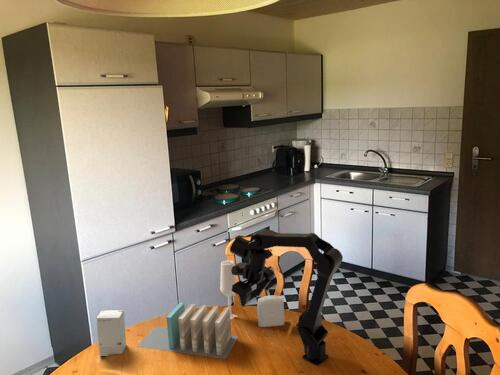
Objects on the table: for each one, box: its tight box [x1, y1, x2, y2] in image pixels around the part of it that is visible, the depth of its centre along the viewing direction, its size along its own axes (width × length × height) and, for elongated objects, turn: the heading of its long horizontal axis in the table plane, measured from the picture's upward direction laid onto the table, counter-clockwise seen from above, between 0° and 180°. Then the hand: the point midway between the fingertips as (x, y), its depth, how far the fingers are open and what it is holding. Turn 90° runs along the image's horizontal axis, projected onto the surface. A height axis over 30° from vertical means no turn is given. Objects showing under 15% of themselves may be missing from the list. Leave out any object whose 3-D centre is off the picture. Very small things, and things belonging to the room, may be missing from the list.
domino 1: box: [165, 302, 186, 349], centre depth 150 cm, size 2×11×12 cm, turn 164°
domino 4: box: [202, 305, 220, 353], centre depth 147 cm, size 2×11×12 cm, turn 164°
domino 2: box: [178, 303, 197, 350], centre depth 149 cm, size 2×11×12 cm, turn 164°
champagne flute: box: [219, 259, 239, 320], centre depth 164 cm, size 7×7×24 cm
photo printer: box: [256, 295, 285, 328], centre depth 159 cm, size 10×4×12 cm, turn 96°
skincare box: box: [96, 309, 127, 358], centre depth 146 cm, size 8×6×15 cm
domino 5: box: [215, 306, 233, 355], centre depth 145 cm, size 2×11×12 cm, turn 164°
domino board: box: [136, 325, 239, 359], centre depth 151 cm, size 34×14×1 cm, turn 74°
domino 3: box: [190, 304, 208, 352], centre depth 148 cm, size 2×11×12 cm, turn 164°
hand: (250, 300), depth 151 cm, fingers open, 9 cm apart
